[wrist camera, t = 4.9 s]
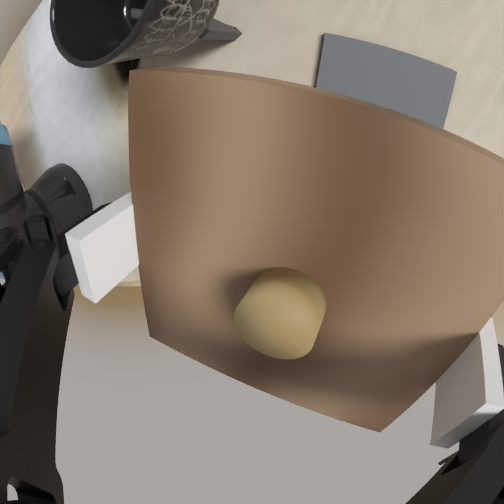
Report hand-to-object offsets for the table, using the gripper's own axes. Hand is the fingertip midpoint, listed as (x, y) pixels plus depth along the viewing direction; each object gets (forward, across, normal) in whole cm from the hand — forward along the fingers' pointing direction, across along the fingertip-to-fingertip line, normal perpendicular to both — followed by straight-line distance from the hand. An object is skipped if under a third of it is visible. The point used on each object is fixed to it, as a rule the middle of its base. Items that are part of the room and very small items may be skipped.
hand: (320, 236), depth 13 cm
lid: (-3, 0, 0) cm, 3 cm away
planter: (+23, -20, +11) cm, 33 cm away
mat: (+23, +1, +2) cm, 24 cm away
